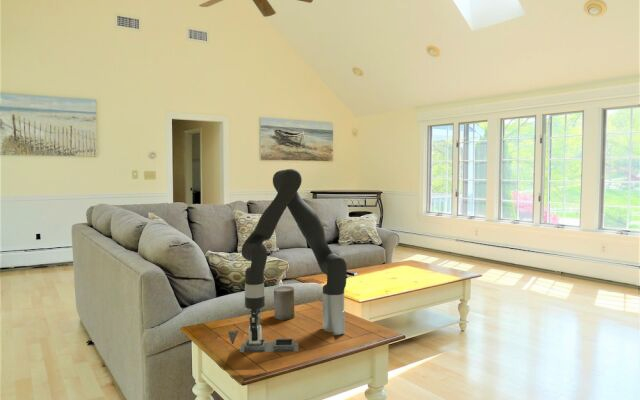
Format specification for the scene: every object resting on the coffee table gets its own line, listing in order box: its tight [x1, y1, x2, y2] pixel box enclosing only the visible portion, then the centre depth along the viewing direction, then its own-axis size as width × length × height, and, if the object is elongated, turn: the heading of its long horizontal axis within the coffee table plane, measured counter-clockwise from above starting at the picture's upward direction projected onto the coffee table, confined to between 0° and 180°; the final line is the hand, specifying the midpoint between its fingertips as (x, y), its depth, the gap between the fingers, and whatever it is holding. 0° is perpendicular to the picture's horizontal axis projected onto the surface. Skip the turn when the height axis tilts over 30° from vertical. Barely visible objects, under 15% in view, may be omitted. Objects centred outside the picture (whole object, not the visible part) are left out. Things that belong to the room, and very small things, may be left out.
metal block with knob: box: [248, 324, 263, 346], centre depth 179 cm, size 4×4×8 cm
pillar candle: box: [273, 285, 295, 321], centre depth 221 cm, size 10×10×15 cm
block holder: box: [239, 338, 299, 353], centre depth 179 cm, size 22×9×3 cm, turn 92°
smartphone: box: [228, 330, 239, 344], centre depth 195 cm, size 7×1×15 cm
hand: (255, 338), depth 179 cm, fingers closed on metal block with knob, 4 cm apart
